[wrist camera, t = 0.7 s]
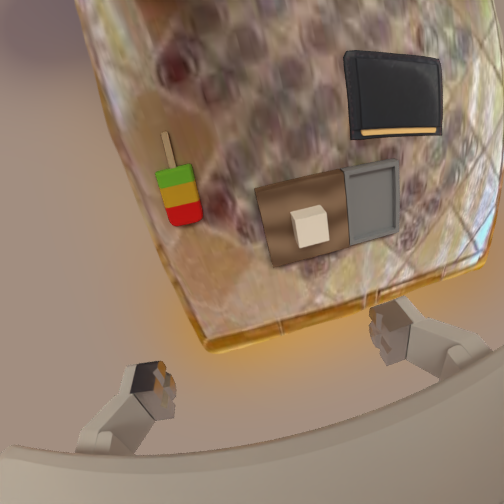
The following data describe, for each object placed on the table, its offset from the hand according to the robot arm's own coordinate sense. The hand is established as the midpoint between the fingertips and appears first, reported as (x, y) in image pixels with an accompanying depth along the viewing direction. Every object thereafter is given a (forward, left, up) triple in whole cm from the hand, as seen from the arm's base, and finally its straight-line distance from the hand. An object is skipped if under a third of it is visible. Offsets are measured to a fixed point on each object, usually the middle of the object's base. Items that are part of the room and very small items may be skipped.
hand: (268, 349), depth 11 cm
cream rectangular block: (+15, +10, -35) cm, 40 cm away
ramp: (+15, +10, -37) cm, 41 cm away
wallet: (-3, +30, -38) cm, 48 cm away
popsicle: (+3, -8, -38) cm, 39 cm away
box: (+15, +22, -37) cm, 46 cm away
